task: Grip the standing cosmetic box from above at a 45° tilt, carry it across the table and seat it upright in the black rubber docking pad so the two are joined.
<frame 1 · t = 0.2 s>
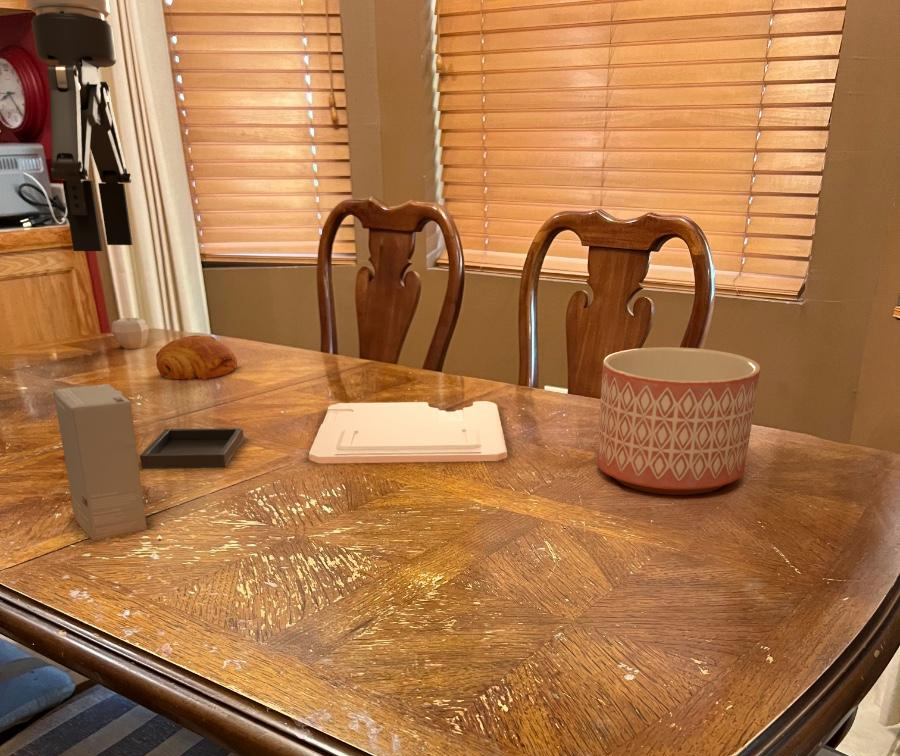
hand: (105, 248, 94), 30 cm above the table, tool pointing down, fingers open, 13 cm apart
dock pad: (195, 455, 124), on the table
planter: (667, 476, 115), on the table
apple: (133, 349, 192), on the table
tray: (411, 435, 133), on the table
croissant: (200, 374, 170), on the table
cosmetic box: (114, 527, 102), on the table
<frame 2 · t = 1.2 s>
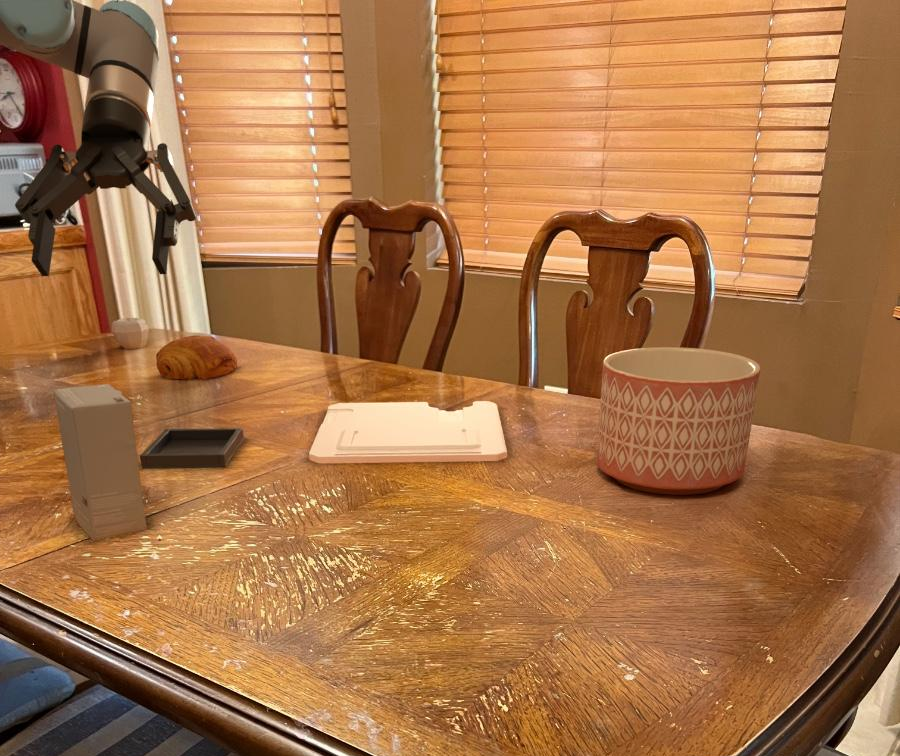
hand: (99, 267, 98), 27 cm above the table, tool tilted 45°, fingers open, 13 cm apart
nothing on the table moved.
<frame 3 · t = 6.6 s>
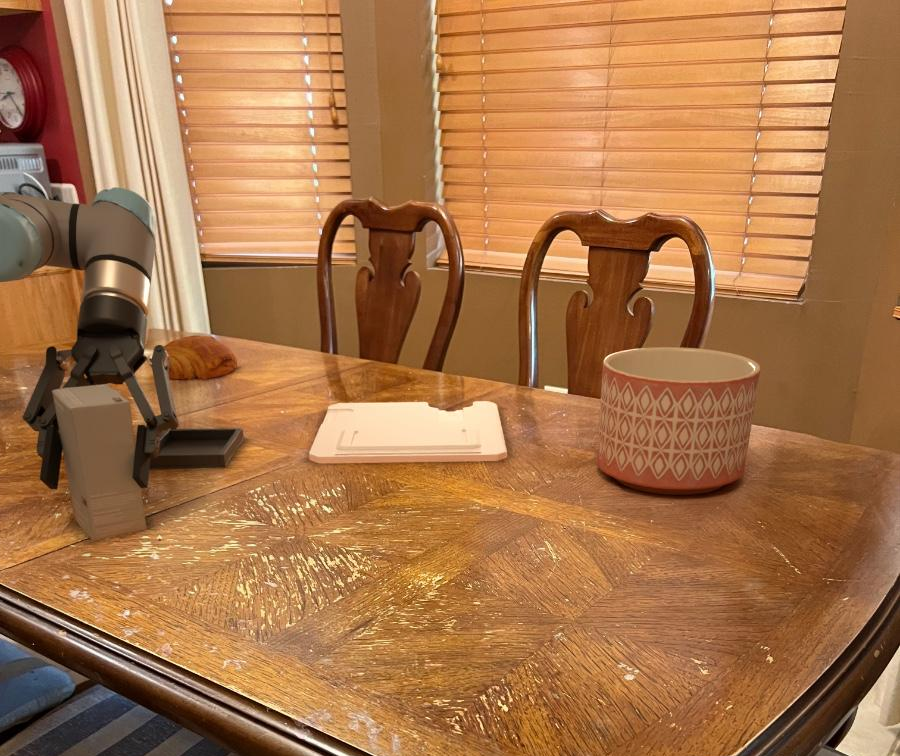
hand: (94, 483, 96), 6 cm above the table, tool tilted 45°, fingers closed on cosmetic box, 9 cm apart
cosmetic box: (114, 527, 102), on the table, touching gripper
everything else where it was.
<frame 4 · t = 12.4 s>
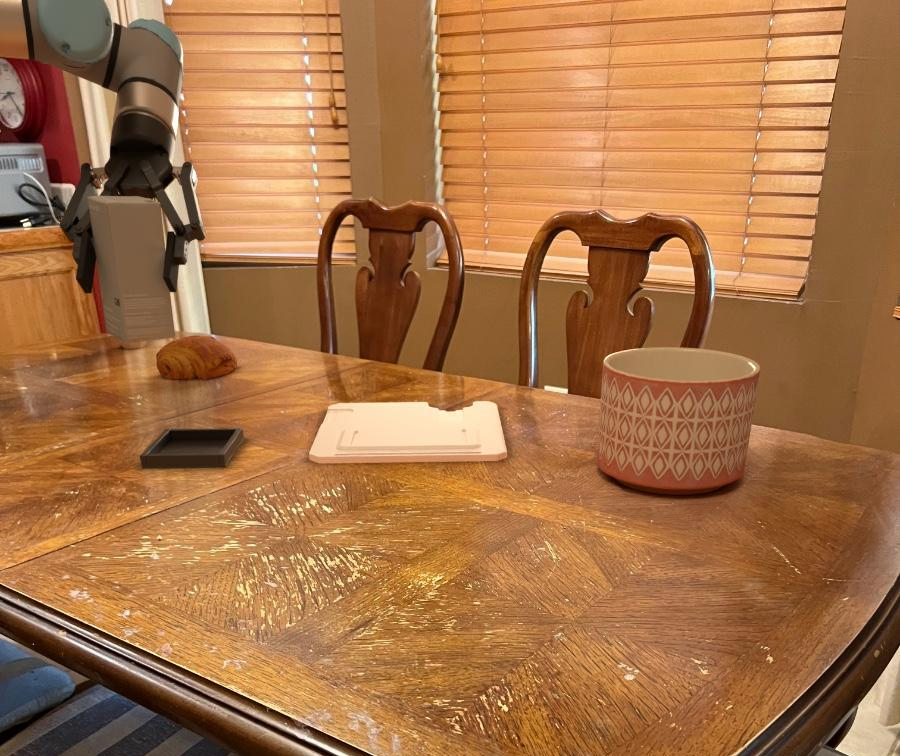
hand: (126, 285, 102), 25 cm above the table, tool tilted 45°, fingers closed on cosmetic box, 9 cm apart
cosmetic box: (144, 337, 107), point 18 cm above the table, touching gripper
everything else where it was.
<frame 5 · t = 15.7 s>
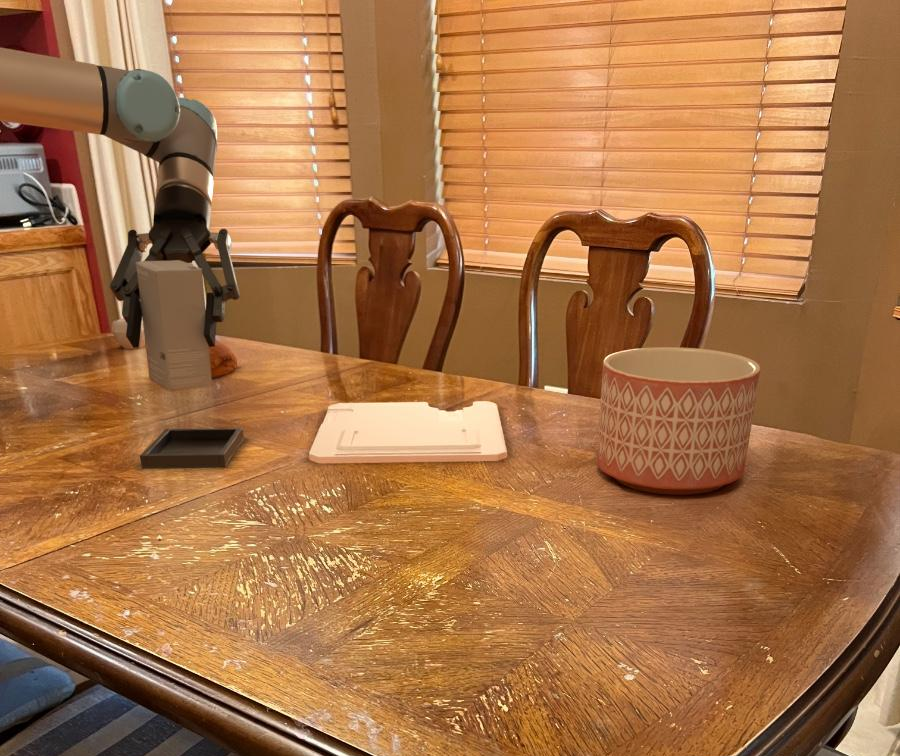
hand: (170, 341, 114), 17 cm above the table, tool tilted 45°, fingers closed on cosmetic box, 9 cm apart
cosmetic box: (184, 385, 120), point 10 cm above the table, touching gripper
everything else where it was.
when the fingers open (8 cm above the table, at t = 18.5 s): cosmetic box stays where it is, resting on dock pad.
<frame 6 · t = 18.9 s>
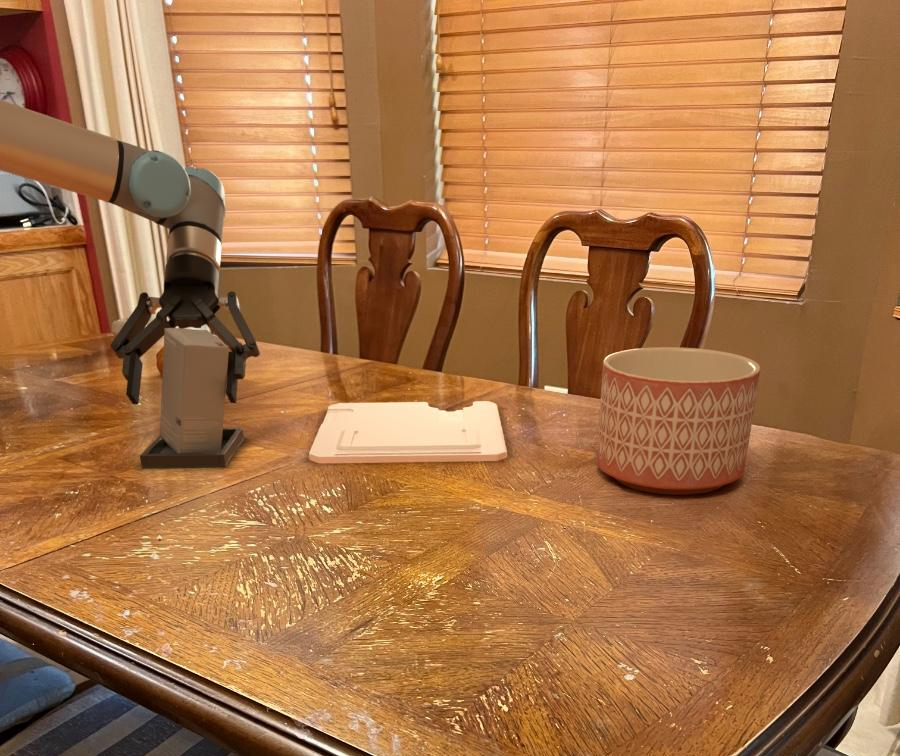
hand: (181, 399, 118), 9 cm above the table, tool tilted 45°, fingers open, 13 cm apart
cosmetic box: (193, 447, 124), point 1 cm above the table, touching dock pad, gripper
everything else where it was.
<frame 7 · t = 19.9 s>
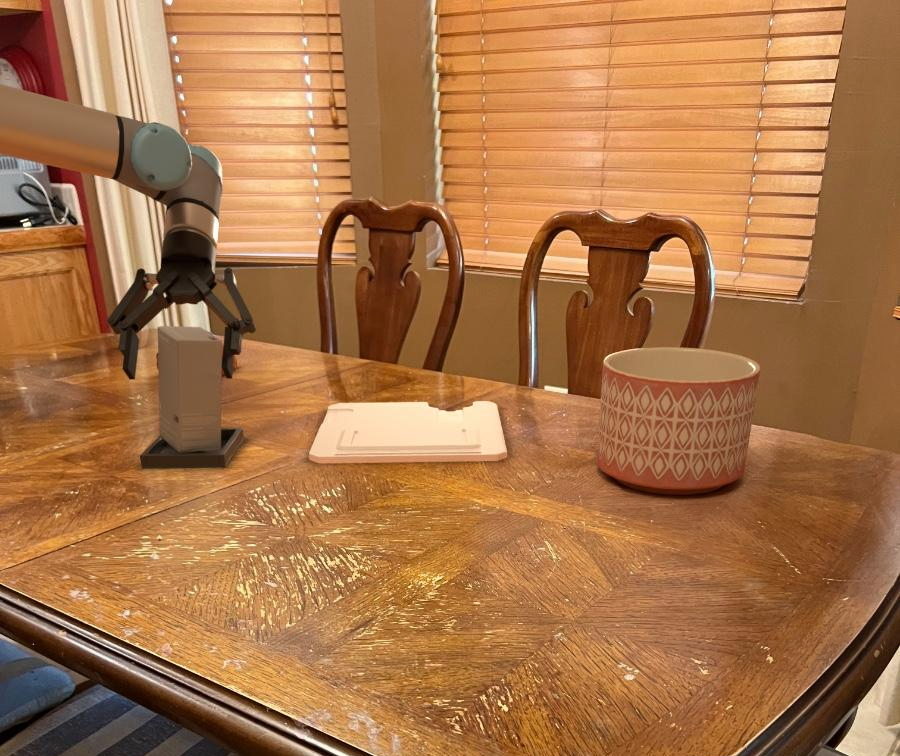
hand: (177, 374, 119), 12 cm above the table, tool tilted 45°, fingers open, 13 cm apart
cosmetic box: (193, 445, 124), point 2 cm above the table, touching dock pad
everything else where it was.
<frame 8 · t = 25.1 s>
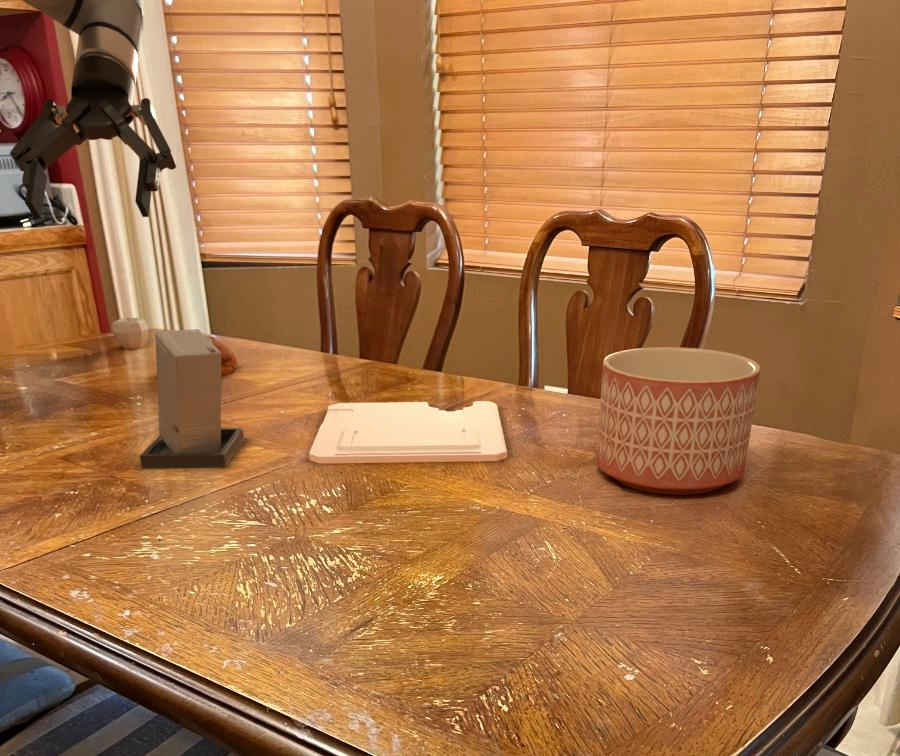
hand: (87, 210, 107), 33 cm above the table, tool tilted 45°, fingers open, 13 cm apart
at the end: cosmetic box 0.1 cm off-centre in the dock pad, point 1.2 cm above the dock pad's base; cosmetic box tilted 12°; the gripper is holding nothing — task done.
